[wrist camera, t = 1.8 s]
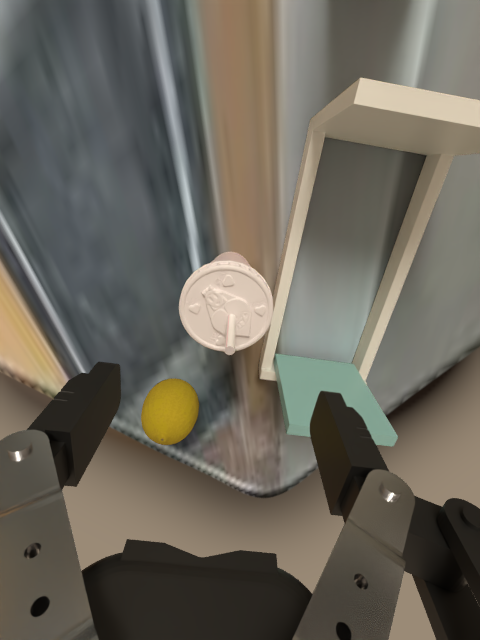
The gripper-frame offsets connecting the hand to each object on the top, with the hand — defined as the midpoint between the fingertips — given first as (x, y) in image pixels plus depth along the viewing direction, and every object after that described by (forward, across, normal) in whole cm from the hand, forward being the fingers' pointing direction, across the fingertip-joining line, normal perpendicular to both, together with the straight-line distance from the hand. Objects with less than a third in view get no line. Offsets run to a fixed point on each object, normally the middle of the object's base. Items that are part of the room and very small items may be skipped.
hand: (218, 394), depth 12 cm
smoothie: (+19, 0, 0) cm, 19 cm away
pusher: (+17, -10, +8) cm, 22 cm away
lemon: (+19, +4, +14) cm, 24 cm away
